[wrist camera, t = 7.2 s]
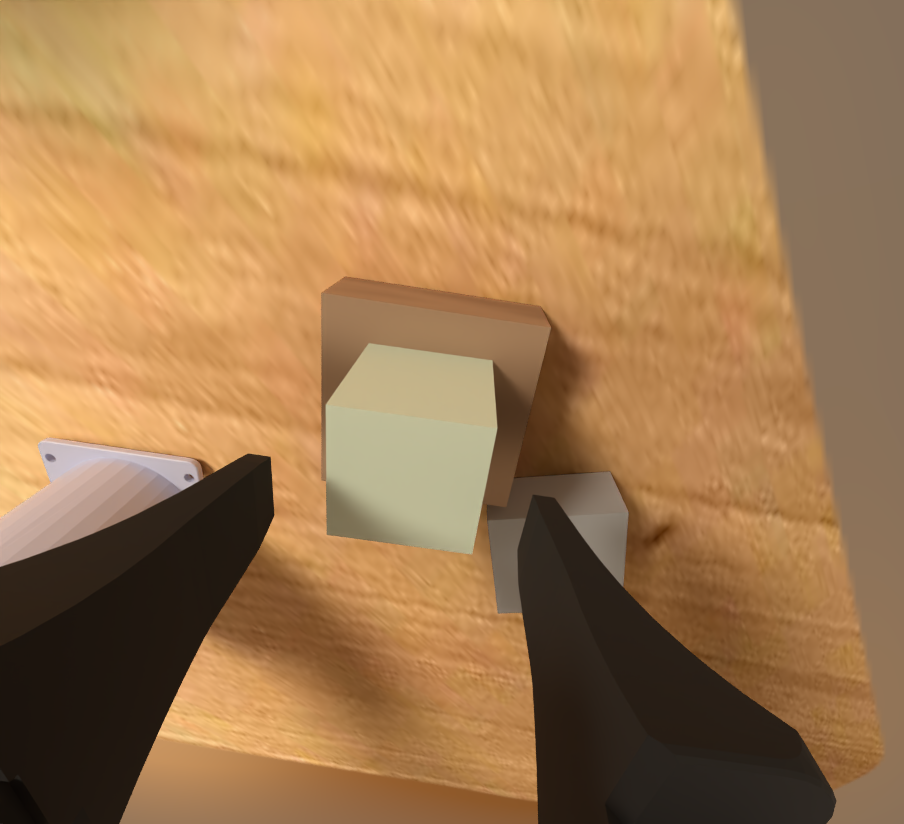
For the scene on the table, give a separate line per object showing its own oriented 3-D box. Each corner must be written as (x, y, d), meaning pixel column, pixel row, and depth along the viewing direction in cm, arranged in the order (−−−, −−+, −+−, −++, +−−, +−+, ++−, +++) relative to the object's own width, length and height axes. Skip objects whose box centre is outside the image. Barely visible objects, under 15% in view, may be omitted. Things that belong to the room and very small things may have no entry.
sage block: (474, 463, 18) (472, 554, 14) (364, 448, 18) (326, 534, 13) (492, 360, 16) (497, 428, 11) (368, 343, 16) (325, 404, 11)
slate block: (605, 561, 24) (621, 608, 21) (495, 567, 25) (497, 613, 22) (610, 471, 21) (628, 512, 19) (486, 479, 22) (487, 520, 19)
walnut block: (502, 467, 22) (506, 507, 19) (341, 443, 21) (321, 480, 19) (540, 306, 18) (551, 327, 15) (345, 276, 18) (321, 292, 15)
